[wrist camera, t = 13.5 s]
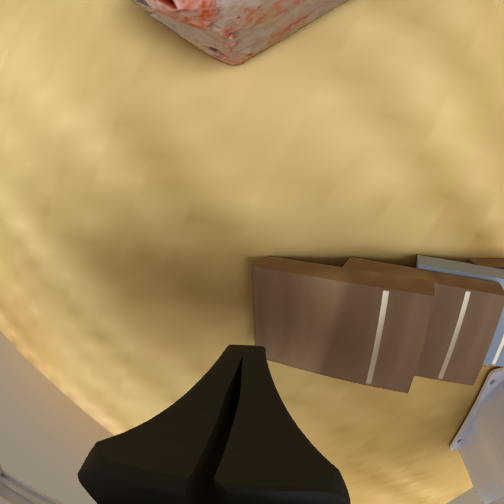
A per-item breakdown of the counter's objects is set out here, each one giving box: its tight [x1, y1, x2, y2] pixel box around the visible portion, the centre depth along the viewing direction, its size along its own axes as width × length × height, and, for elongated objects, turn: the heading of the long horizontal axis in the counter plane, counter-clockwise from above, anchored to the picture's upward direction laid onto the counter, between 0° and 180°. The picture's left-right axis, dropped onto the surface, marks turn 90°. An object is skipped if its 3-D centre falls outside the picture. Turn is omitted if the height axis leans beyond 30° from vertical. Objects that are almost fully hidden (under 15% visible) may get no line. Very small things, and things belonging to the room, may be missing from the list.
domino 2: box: [343, 257, 504, 385], centre depth 13 cm, size 2×5×8 cm
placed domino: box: [415, 255, 504, 367], centre depth 13 cm, size 2×5×8 cm
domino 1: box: [252, 256, 435, 393], centre depth 14 cm, size 2×5×8 cm
